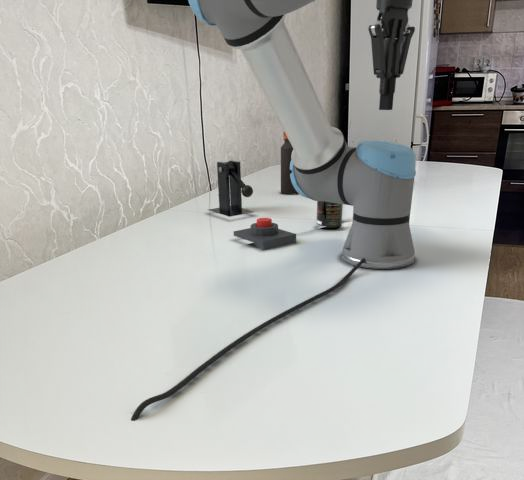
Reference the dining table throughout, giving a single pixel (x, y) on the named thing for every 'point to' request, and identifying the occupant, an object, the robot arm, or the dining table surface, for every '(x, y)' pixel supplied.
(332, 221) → the supplement container
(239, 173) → the lever switch
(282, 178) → the bottle
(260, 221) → the button
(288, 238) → the dark grey base plate
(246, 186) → the switch lever
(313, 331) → the dining table surface
